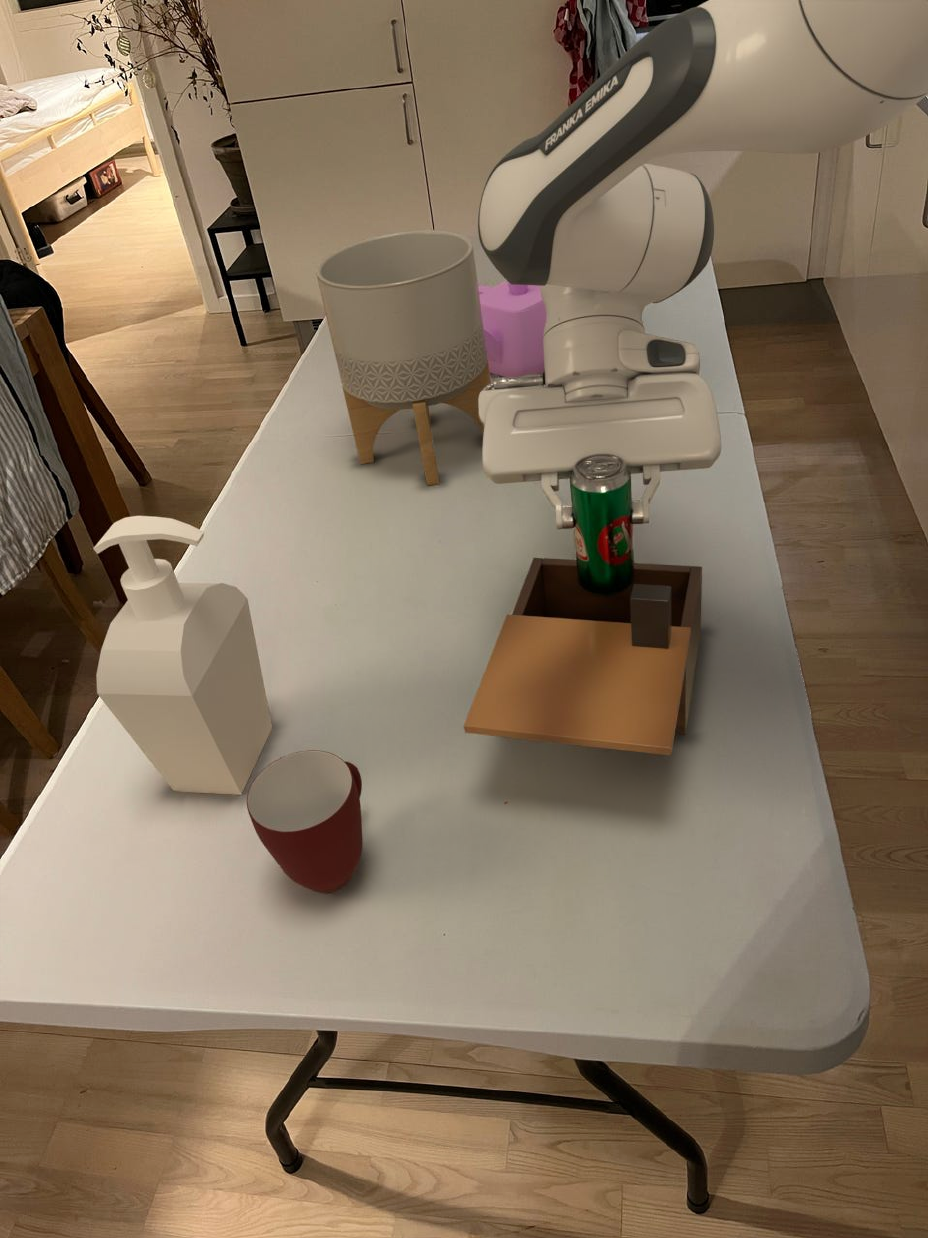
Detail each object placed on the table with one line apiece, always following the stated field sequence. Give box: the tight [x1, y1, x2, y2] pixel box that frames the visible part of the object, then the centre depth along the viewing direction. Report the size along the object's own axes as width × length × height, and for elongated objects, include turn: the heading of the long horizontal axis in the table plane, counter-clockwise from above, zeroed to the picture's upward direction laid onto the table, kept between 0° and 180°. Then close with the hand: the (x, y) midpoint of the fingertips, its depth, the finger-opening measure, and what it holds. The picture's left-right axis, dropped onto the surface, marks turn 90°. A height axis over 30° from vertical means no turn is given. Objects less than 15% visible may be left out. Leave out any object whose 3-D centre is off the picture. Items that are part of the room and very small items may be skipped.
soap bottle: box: [92, 515, 273, 796], centre depth 81 cm, size 12×10×26 cm
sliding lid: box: [463, 584, 691, 756], centre depth 77 cm, size 16×14×6 cm
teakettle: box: [478, 280, 546, 378], centre depth 145 cm, size 17×17×12 cm
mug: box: [246, 749, 363, 894], centre depth 75 cm, size 11×8×10 cm
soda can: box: [569, 454, 635, 596], centre depth 83 cm, size 5×5×12 cm
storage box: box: [511, 557, 703, 736], centre depth 89 cm, size 16×14×8 cm
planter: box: [315, 229, 493, 487], centre depth 122 cm, size 19×19×26 cm
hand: (603, 525), depth 83 cm, fingers closed on soda can, 5 cm apart
